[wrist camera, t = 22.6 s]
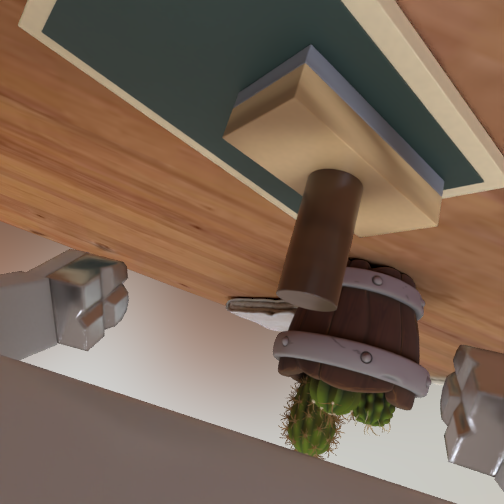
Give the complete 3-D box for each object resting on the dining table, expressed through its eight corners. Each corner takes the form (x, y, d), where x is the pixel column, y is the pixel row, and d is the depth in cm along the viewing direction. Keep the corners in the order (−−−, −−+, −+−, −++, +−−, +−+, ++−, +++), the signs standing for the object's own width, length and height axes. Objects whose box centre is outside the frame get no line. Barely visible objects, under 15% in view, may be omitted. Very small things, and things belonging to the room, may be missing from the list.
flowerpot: (374, 234, 33) (318, 508, 27) (473, 300, 40) (448, 528, 34) (267, 254, 45) (211, 447, 39) (358, 303, 52) (324, 472, 46)
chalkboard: (26, 11, 21) (16, 27, 21) (164, -333, 9) (148, -310, 9) (305, 213, 33) (301, 225, 33) (513, 170, 22) (512, 188, 21)
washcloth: (354, 324, 64) (350, 344, 63) (273, 318, 77) (269, 334, 76) (306, 297, 57) (300, 319, 56) (227, 296, 70) (221, 313, 69)
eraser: (238, 92, 20) (177, 256, 18) (311, 43, 17) (249, 243, 14) (368, 198, 26) (339, 335, 23) (444, 181, 22) (421, 342, 19)
